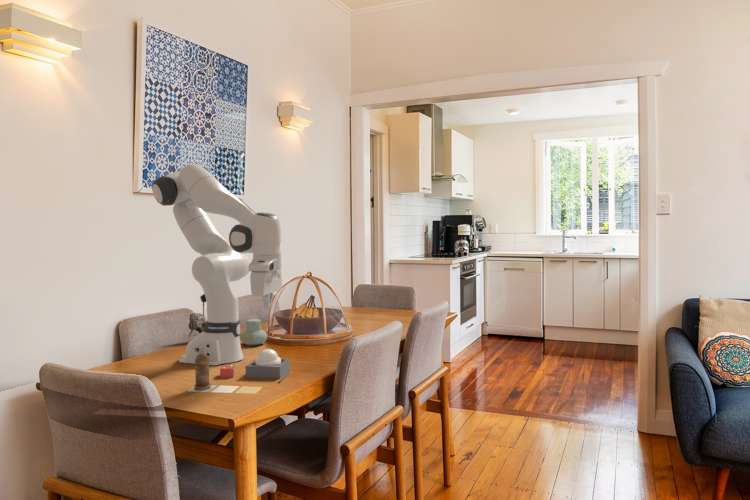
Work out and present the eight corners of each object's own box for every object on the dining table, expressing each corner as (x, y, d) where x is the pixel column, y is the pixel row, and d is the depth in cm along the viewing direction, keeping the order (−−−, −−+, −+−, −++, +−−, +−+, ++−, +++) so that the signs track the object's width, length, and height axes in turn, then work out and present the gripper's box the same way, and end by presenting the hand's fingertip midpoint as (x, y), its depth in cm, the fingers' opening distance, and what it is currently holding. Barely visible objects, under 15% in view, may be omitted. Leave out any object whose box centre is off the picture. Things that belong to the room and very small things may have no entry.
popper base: (245, 381, 176) (245, 366, 176) (257, 372, 187) (257, 357, 187) (280, 383, 175) (279, 367, 174) (289, 373, 186) (289, 358, 185)
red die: (220, 381, 176) (220, 367, 176) (221, 378, 180) (221, 364, 180) (233, 381, 177) (233, 367, 176) (234, 377, 181) (234, 364, 180)
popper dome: (251, 371, 177) (251, 351, 177) (260, 365, 185) (260, 346, 185) (276, 372, 176) (276, 352, 176) (284, 366, 184) (283, 346, 184)
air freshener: (270, 343, 234) (270, 319, 233) (258, 347, 226) (258, 322, 226) (249, 341, 238) (249, 317, 238) (236, 345, 231) (236, 320, 230)
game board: (184, 396, 161) (184, 392, 161) (197, 387, 170) (197, 383, 170) (255, 399, 158) (255, 394, 158) (265, 390, 167) (265, 385, 167)
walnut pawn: (191, 390, 163) (190, 355, 162) (198, 385, 167) (197, 351, 167) (206, 390, 162) (206, 355, 162) (213, 386, 167) (212, 352, 166)
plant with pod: (186, 340, 240) (185, 293, 239) (213, 338, 244) (213, 292, 243) (188, 344, 232) (187, 295, 231) (216, 342, 237) (215, 294, 236)
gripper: (267, 261, 190) (268, 302, 191) (246, 266, 170) (247, 311, 170) (286, 261, 189) (286, 302, 190) (266, 266, 169) (267, 312, 169)
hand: (267, 307), depth 180 cm, fingers closed
